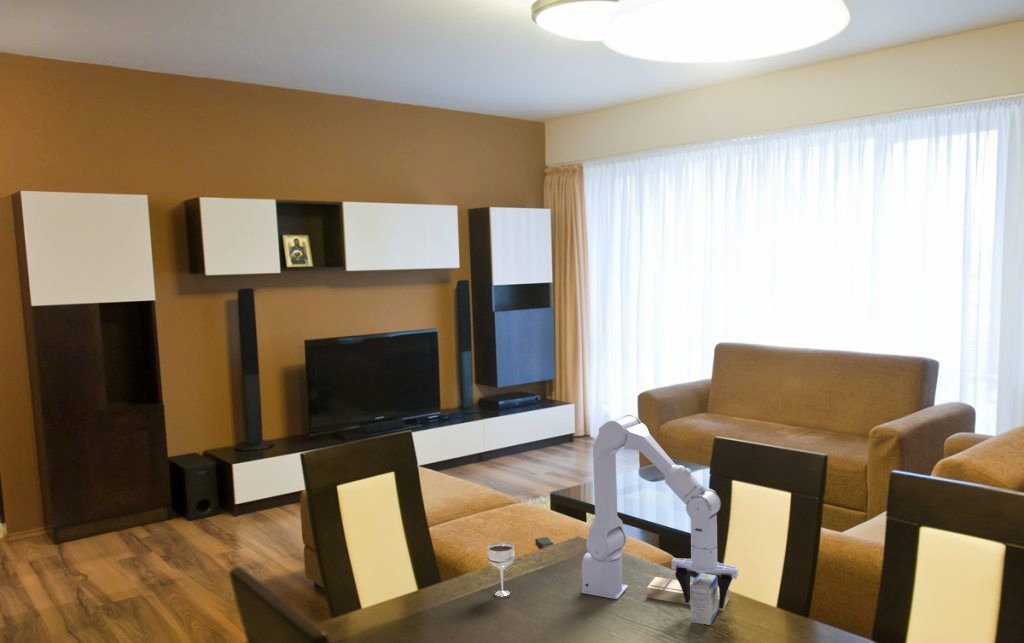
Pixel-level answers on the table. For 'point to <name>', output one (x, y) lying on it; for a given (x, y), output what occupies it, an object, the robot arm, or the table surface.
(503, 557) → the wineglass
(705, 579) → the medicine box
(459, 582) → the table surface
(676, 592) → the cream striped flat box
